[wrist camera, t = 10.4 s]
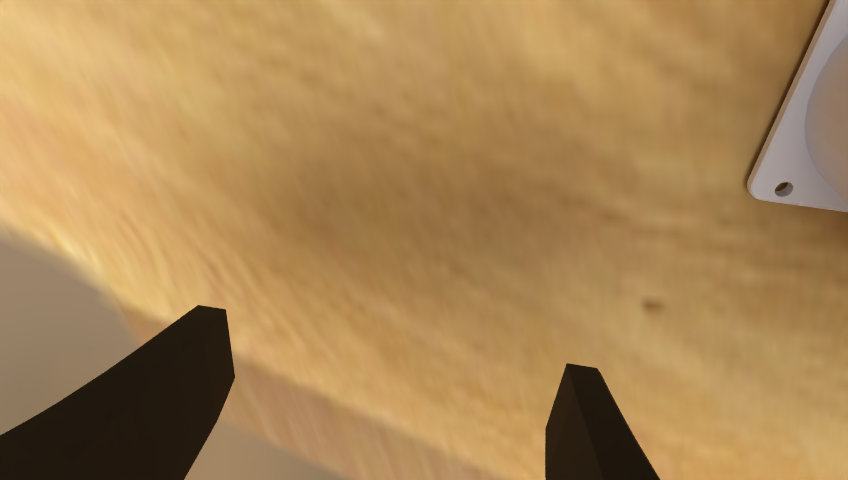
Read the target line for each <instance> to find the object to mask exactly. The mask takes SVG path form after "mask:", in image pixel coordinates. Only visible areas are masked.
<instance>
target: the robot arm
mask: <svg viewBox="0 0 848 480" xmlns="http://www.w3.org/2000/svg"><path fill="white" fill-rule="evenodd" d="M783 182H788V185H787V186H786V187H785V189H783V190H781V191H775V188H776V187H777V186H778V185H779V184H781V183H783ZM747 188H748V191H749V192H750V194H751V195H752V196H753V197H754V198H755V199H758V200H762V201H770V202H777V203H784V204H791V205H799V206H806V207H813V208H820V209H827V210H835V211H842V212H848V0H830V2H829V4H828V6H827V8H826V11H825V13H824V15H823V17H822V19H821V22H820V24H819V26H818V28H817V30H816V32H815V35H814V37H813V39H812V41H811V43H810V46H809V48H808V50H807V52H806V54H805V57H804V59H803V61H802V63H801V65H800V67H799V70H798V72H797V74H796V76H795V78H794V81H793V83H792V85H791V87H790V89H789V91H788V94H787V96H786V98H785V100H784V102H783V105H782V107H781V109H780V111H779V113H778V116H777V118H776V120H775V122H774V124H773V126H772V129H771V131H770V133H769V135H768V137H767V140H766V142H765V144H764V146H763V148H762V150H761V153H760V155H759V157H758V159H757V161H756V164H755V166H754V168H753V170H752V172H751V175H750V177H749V179H748V182H747ZM234 378H235V374H234V366H233V359H232V352H231V344H230V337H229V329H228V322H227V315H226V309H219V308H213V307H207V306H200V305H198V306H196V307H195V308H194V309H192V310H191V311H189V312H188V313H186V314H185V315H184V316H182V317H181V318H180V319H178V320H177V321H175V322H174V323H173V324H171V325H170V326H169V327H167V328H166V329H164V330H163V331H162V332H160V333H159V334H158V335H156V336H155V337H153V338H152V339H151V340H149V341H148V342H147V343H145V344H144V345H142V346H141V347H140V348H138V349H137V350H135V351H134V352H133V353H131V354H130V355H128V356H127V357H126V358H124V359H123V360H121V361H120V362H118V363H117V364H116V365H114V366H113V367H111V368H110V369H109V370H107V371H106V372H104V373H103V374H101V375H100V376H98V377H96V378H95V379H93V380H92V381H90V382H89V383H87V384H86V385H84V386H83V387H81V388H80V389H78V390H77V391H75V392H73V393H72V394H70V395H69V396H67V397H66V398H64V399H63V400H61V401H60V402H58V403H56V404H55V405H53V406H51V407H50V408H48V409H46V410H45V411H43V412H41V413H40V414H38V415H36V416H34V417H33V418H31V419H29V420H27V421H26V422H24V423H22V424H20V425H18V426H17V427H15V428H13V429H11V430H9V431H8V432H6V433H4V434H2V435H0V480H184V479H185V477H186V475H187V473H188V472H189V470H190V468H191V466H192V464H193V463H194V461H195V459H196V458H197V456H198V454H199V452H200V450H201V449H202V447H203V445H204V443H205V442H206V440H207V438H208V436H209V435H210V433H211V431H212V429H213V427H214V425H215V424H216V422H217V420H218V417H219V415H220V413H221V410H222V408H223V406H224V403H225V401H226V399H227V396H228V394H229V391H230V389H231V386H232V384H233V381H234ZM545 477H546V480H660V478H659V477H658V475H657V474H656V472H655V470H654V469H653V467H652V465H651V464H650V462H649V460H648V459H647V457H646V455H645V454H644V452H643V450H642V449H641V447H640V445H639V444H638V442H637V440H636V439H635V437H634V435H633V433H632V432H631V430H630V428H629V426H628V424H627V423H626V421H625V419H624V417H623V415H622V413H621V412H620V410H619V408H618V406H617V404H616V402H615V400H614V398H613V397H612V395H611V393H610V391H609V389H608V387H607V385H606V383H605V381H604V379H603V377H602V375H601V373H600V372H599V370H598V369H597V368H593V367H587V366H580V365H574V364H568V363H567V364H566V367H565V370H564V373H563V376H562V380H561V383H560V386H559V389H558V392H557V395H556V398H555V401H554V404H553V407H552V410H551V414H550V417H549V420H548V423H547V426H546V443H545Z"/></svg>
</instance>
